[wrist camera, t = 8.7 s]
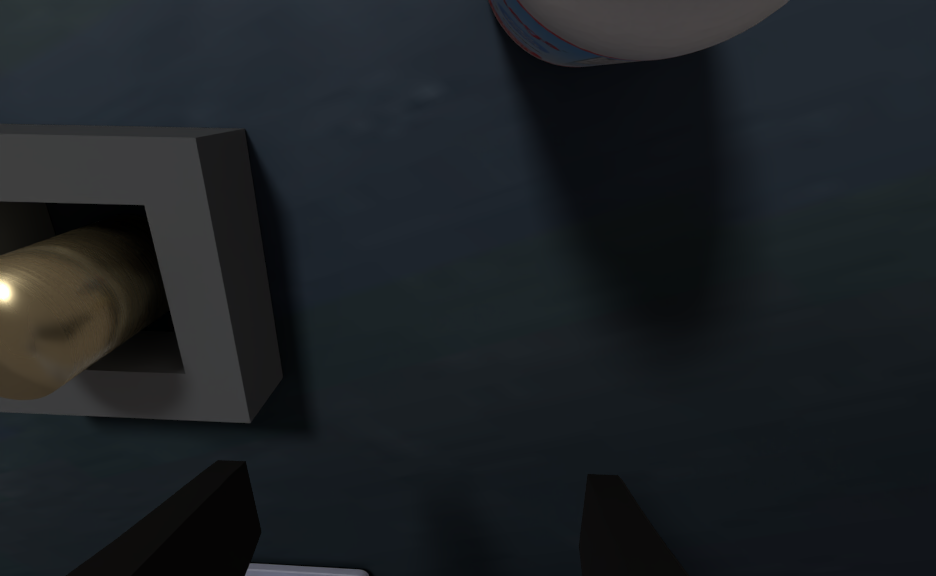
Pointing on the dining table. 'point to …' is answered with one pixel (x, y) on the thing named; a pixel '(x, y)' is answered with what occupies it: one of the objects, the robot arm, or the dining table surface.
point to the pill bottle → (624, 27)
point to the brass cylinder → (75, 302)
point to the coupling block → (180, 261)
